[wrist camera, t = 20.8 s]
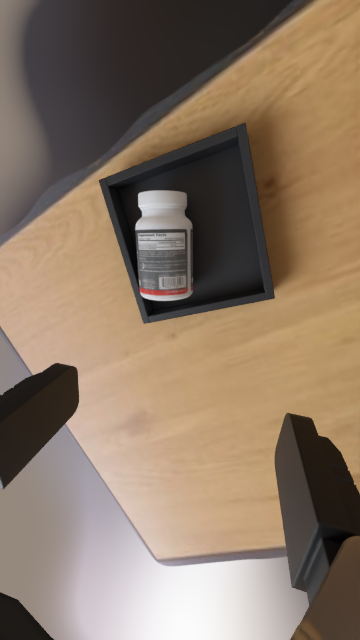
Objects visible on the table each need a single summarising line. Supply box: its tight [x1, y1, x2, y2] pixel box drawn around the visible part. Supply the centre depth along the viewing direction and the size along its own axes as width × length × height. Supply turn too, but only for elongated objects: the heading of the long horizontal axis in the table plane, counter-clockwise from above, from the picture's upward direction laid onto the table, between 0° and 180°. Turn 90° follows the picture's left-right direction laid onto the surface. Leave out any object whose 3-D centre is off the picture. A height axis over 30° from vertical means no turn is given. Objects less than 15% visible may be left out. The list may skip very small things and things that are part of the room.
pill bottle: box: [135, 190, 193, 301], centre depth 26 cm, size 6×6×10 cm
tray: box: [99, 123, 275, 324], centre depth 27 cm, size 15×16×3 cm
